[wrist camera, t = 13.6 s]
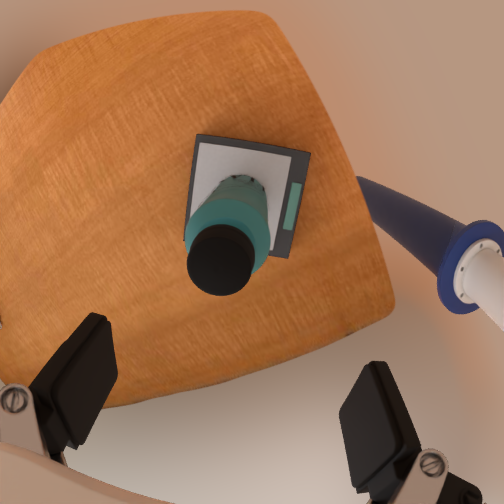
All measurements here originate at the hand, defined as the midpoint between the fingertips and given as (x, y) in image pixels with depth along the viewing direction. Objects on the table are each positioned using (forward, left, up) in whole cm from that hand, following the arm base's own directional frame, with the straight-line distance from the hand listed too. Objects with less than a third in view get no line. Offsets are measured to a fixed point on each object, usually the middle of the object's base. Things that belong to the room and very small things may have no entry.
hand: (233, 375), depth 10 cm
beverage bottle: (+2, 0, -28) cm, 28 cm away
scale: (+1, 0, -31) cm, 31 cm away
